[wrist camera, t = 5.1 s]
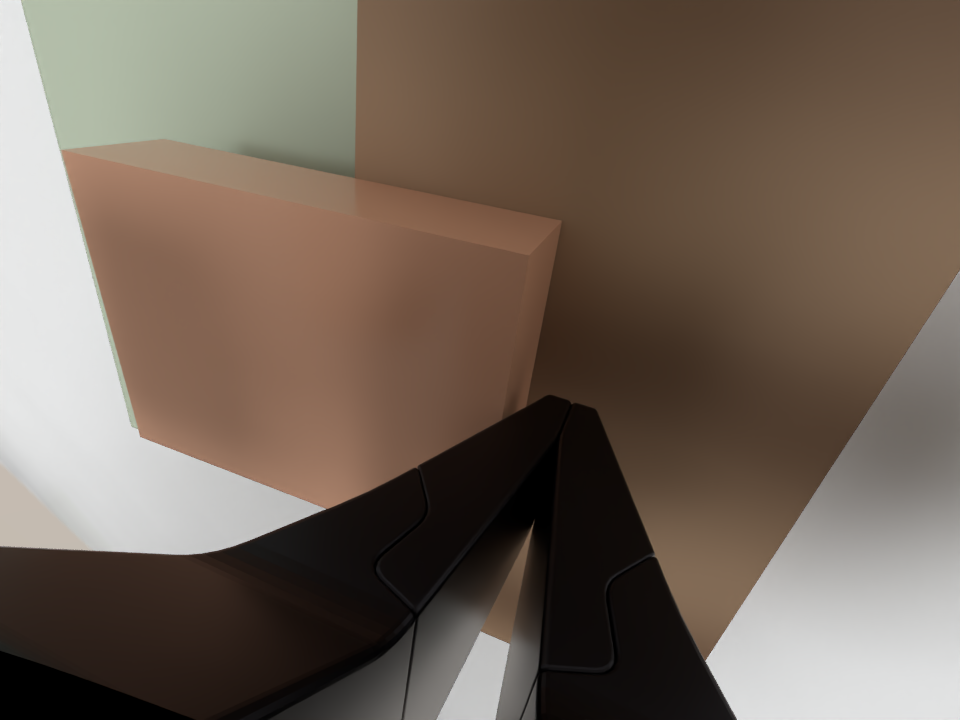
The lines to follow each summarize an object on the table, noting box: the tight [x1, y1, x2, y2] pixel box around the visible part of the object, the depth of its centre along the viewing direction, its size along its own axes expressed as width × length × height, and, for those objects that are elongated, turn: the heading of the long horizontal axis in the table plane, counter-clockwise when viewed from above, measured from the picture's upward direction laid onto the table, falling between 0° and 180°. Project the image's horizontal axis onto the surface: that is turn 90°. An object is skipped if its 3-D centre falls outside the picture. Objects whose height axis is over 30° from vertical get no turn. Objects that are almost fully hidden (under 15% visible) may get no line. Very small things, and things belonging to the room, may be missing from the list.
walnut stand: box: [355, 0, 960, 660], centre depth 11 cm, size 16×9×2 cm, turn 171°
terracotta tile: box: [61, 139, 562, 509], centre depth 10 cm, size 6×8×2 cm
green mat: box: [21, 0, 357, 429], centre depth 14 cm, size 16×10×1 cm, turn 171°
